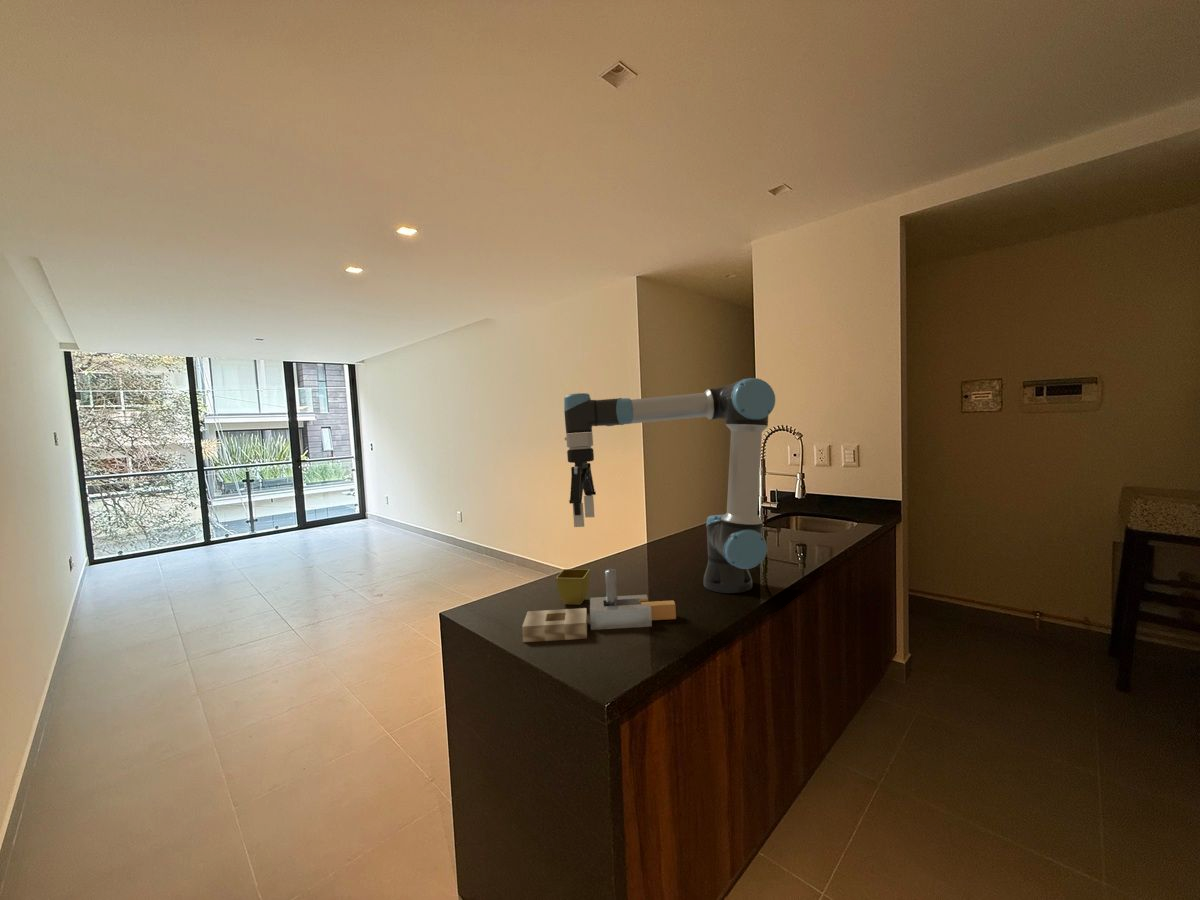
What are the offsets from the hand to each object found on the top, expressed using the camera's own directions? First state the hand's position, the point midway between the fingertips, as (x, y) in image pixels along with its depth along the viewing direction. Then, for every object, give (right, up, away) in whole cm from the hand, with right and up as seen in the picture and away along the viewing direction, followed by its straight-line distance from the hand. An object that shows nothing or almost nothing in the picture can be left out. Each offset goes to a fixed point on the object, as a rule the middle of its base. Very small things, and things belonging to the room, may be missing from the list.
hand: (584, 521), depth 137 cm
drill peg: (+8, -26, -7) cm, 28 cm away
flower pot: (-3, -26, +9) cm, 28 cm away
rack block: (-7, -27, -12) cm, 31 cm away
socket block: (+10, -26, -7) cm, 29 cm away
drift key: (+20, -25, -7) cm, 33 cm away
